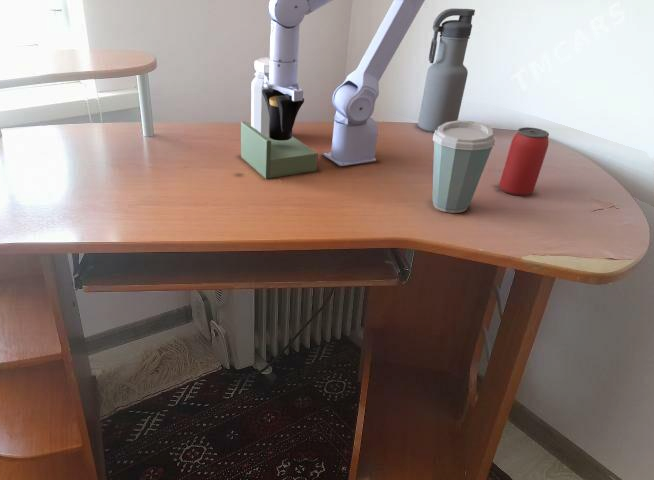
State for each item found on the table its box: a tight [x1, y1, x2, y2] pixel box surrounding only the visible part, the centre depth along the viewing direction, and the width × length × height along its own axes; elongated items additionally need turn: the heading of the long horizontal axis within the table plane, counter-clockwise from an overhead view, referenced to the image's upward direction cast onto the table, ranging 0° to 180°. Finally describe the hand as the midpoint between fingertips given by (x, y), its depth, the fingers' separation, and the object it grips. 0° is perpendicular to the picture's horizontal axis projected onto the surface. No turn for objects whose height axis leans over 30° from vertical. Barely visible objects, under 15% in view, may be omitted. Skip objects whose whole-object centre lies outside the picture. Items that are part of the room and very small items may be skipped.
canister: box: [269, 96, 293, 141], centre depth 116 cm, size 5×5×8 cm
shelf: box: [240, 121, 319, 180], centre depth 119 cm, size 12×14×8 cm
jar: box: [250, 56, 270, 137], centre depth 131 cm, size 10×10×18 cm
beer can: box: [498, 126, 550, 197], centre depth 107 cm, size 7×7×12 cm
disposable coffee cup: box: [432, 119, 496, 214], centre depth 100 cm, size 11×11×15 cm
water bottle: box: [417, 8, 476, 133], centre depth 137 cm, size 10×10×28 cm
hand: (281, 127), depth 117 cm, fingers closed on canister, 5 cm apart
